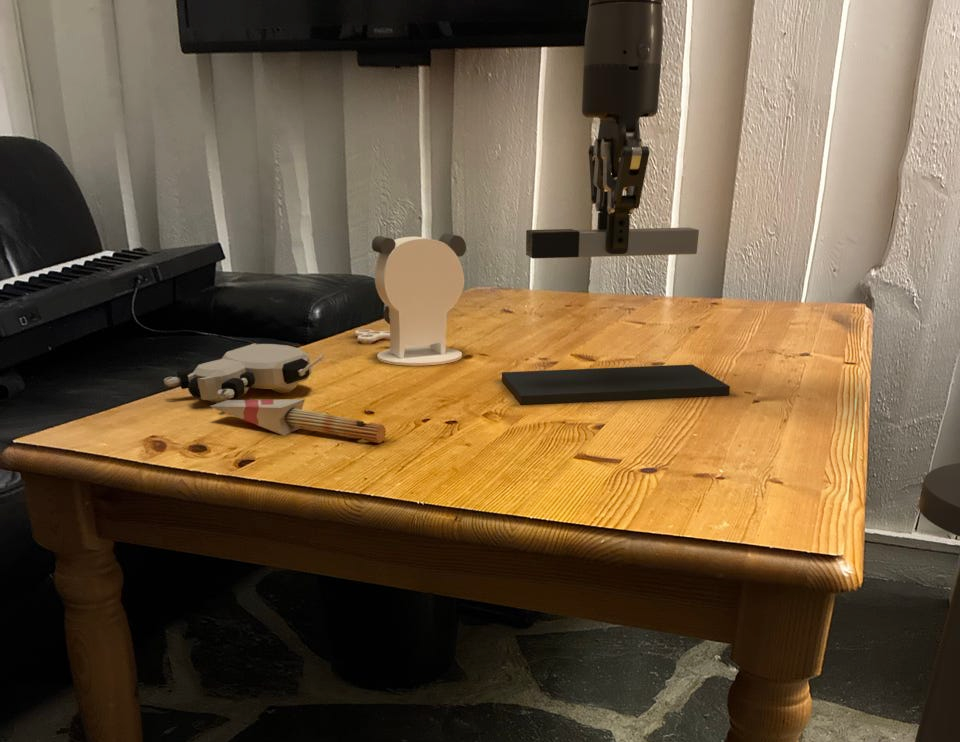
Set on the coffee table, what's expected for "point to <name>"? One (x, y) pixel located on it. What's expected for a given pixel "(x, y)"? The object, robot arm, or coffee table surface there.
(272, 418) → the paintbrush
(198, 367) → the robot toy
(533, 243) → the black-tipped grey bar
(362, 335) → the fidget spinner
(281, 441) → the coffee table surface
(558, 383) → the mat
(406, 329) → the panda figurine
